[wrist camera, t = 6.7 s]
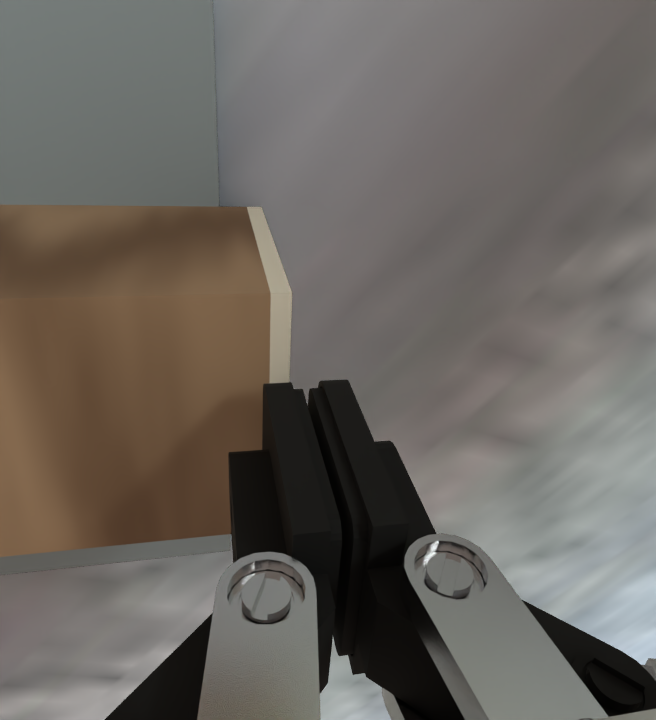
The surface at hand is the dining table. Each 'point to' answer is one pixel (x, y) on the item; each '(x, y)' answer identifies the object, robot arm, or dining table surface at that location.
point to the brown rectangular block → (132, 368)
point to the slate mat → (108, 140)
